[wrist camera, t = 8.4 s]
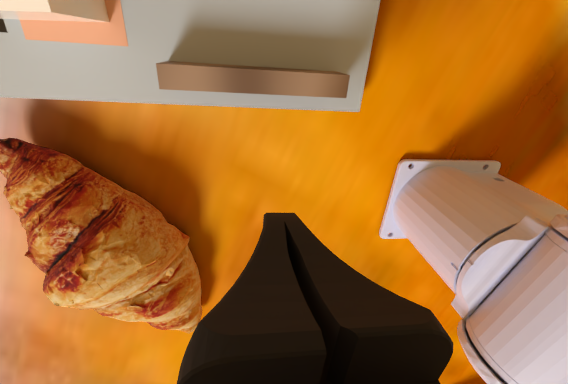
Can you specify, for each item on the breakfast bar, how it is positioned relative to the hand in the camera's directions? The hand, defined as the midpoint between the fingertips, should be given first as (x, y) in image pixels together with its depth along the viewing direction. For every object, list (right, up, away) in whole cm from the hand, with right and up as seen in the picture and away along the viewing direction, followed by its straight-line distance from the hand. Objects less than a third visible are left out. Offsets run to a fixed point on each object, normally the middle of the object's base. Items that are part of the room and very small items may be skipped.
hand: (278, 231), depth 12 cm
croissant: (-13, -2, +12) cm, 18 cm away
